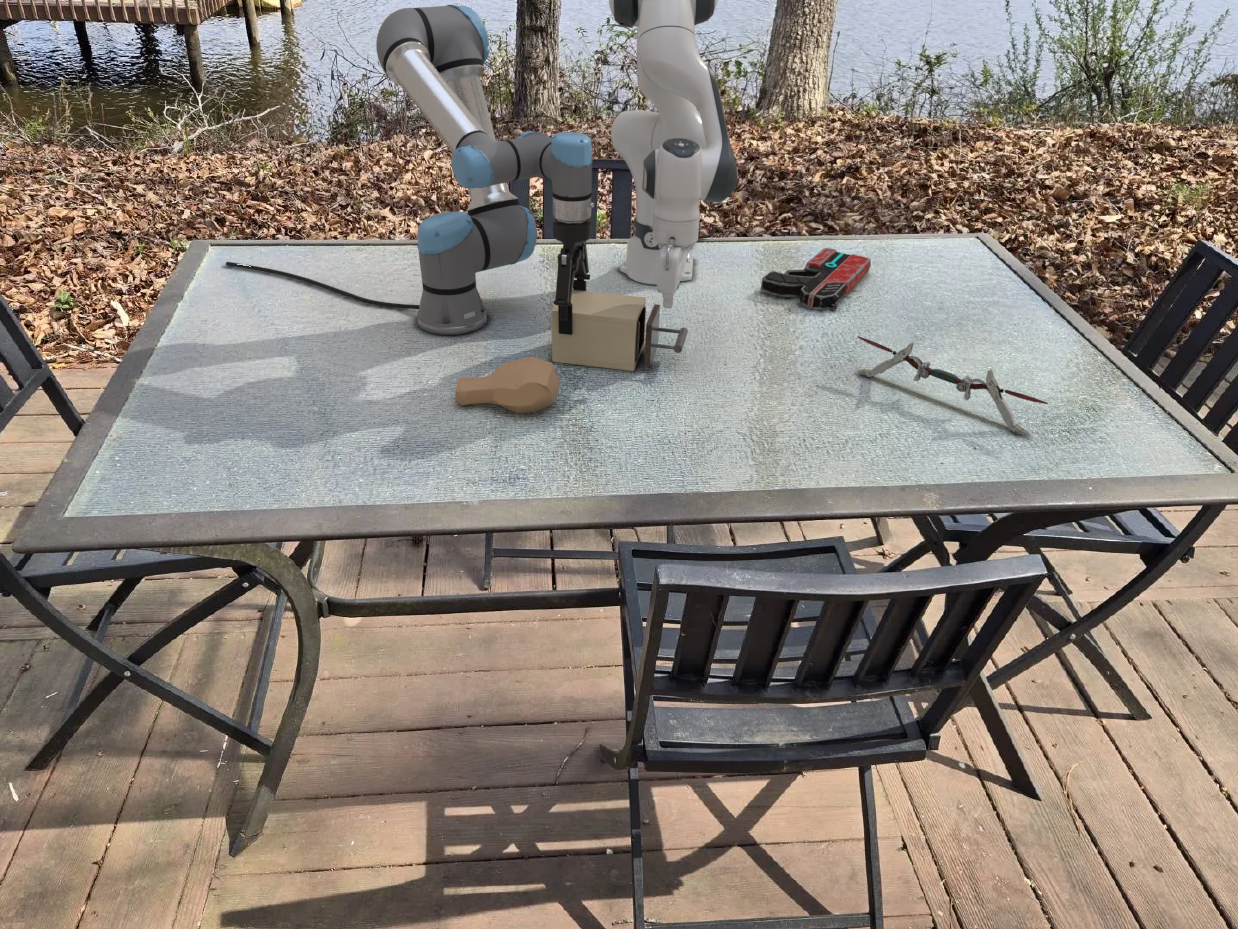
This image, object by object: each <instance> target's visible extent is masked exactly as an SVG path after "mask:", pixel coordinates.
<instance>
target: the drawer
mask: <svg viewBox="0 0 1238 929" xmlns="http://www.w3.org/2000/svg"><path fill="white" fill-rule="evenodd" d="M660 312H661V304H658V303H657V304H656V303H654V305H653V307H652V309H651V312H650V314H649V317H648V319H646V318H647V306H645V307H643V309H642V311H641V313H640V316H639V318H638V320H637V322H636V323H637V324H636V349H635V361H638V362H639V359H640V357H639V356H641V354H642V352H643V350H644V360H643V365H644V366H643V367H646V368H650V367H651V365H652V363H653V359H654V357H655V354H656V351H657V349H665V350H673V351H674V353H677V354H680V353H682V351H683V350H684V345H685V343H686V339H687V337H688V333H689V330H688V328H686V327H681V328H679V329H678V328H677V329H676V328H668V327H667V328H666V327H660V314H661V313H660ZM646 320H647V321H646ZM659 332H661V333H662V332H663V333H671V334H677V337H676V340H675V343H674V345H672V344H671V345H670V344H660V343H659ZM641 351H642V352H641Z"/></svg>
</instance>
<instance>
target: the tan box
mask: <svg viewBox="0 0 1238 929" xmlns="http://www.w3.org/2000/svg"><path fill="white" fill-rule="evenodd" d="M646 300H647V297H646V296H636V295H626V294H616V293H609V292H608V293H606V292H599V291H598V292H597V291H588V290H586V291H579V290H572V297H571V303H572V323H573V334H572V335H567V334H559V319H558V305H555V304H554V305H553V307H552V309H551V310H550V311H551V312H550V313H551V315H550V316H551V317H550V318H551V363H562V364H568V365H569V364H571V365H577V366H578V365H579V366H587V367H595V368H604V369H611V370H612V369H613V370H620V371H629V372H634V371H635V369H636V366H637V364H638V362H639V360H638V361H635V349H636V324H637V323H636V322H637V320H638V318H639V316H640V313H641V311H642V309H643V307H646ZM642 352H643V350H642V351H641V353H642ZM640 356H641V355H640ZM640 356H639V358H640Z"/></svg>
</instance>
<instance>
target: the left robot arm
mask: <svg viewBox="0 0 1238 929" xmlns="http://www.w3.org/2000/svg"><path fill="white" fill-rule="evenodd" d="M488 34H489V33H488V31H487V28H486V25H485V23H484V21H483V20H482V18H481V16H480V15H479V14H478V13H477V12H476V11H475V10H473V8H471V7H470V6H466V5H454V4H447V5H438V6H423V7H420V6H419V7H403V8H400V9H397V10H394V11H393V12H392V13H390V14H389V15H388V16H386V18H385V19H384V20H383V22H382V23H381V25H380V27H379V29H378V32H377V36H376V42H375V43H376V45H375V46H376V48H375V50H376V55H377V60H378V62H379V64H380V66H381V69H382V70H383V72H384V73H385V75H386V76H387V78H389V80H390V81H391V83H393V84H394V85H397V86H399V87H402V89H403V90H404V92H405V93H406V95H408V97H409V98H410V99H411V101H412V102H413V103H414V105H415V106H416V107H417V109H418V110H419V111H420V112H421V114H422V115H423V117H424V119H426V121H427V122H428V123H429V125H430V126H431V127H432V129H433V130H434V131H435V133H436V134H437V135H438V136H439V138H440V139H441V140H442V142H443V143H444V144H445V146H446V147H447V148H448V150H449V151H450V152H451V153H452V155H451V159H450V161H451V162H450V163H451V164H450V165H451V171H452V174H454V177H455V178H454V179H455V181H456V182H457V184H458V185H459V186H460V187H462V188H464V189H467V190H468V194H469V197H470V202H469V203H470V204H469V205H468V207H467V208H466V212H467V213H466V212H464V211H457V210H455V211H454V210H453V211H443V212H438V213H436V214H432V215H429V216H427V217H426V218H424V220H422V221H421V222H420V224H419V225H418V227H417V230H416V231H417V232H416V233H417V243H416V246H417V247H416V248H417V250H418V258H419V259H418V260H419V267H420V275H421V276H420V278H421V284H422V292H421V297H420V302H419V304H409V303H408V304H406V303H397V302H396V303H395V302H387V301H379V300H374V299H369V298H367V297H366V298H365V297H362V296H359V295H357V294H355V293H350V292H348V291H345V290H343V289H339V288H337V287H334V286H331V285H329V284H326V283H323V282H320V281H317V280H313V279H311V278H307V277H305V276H301V275H298V274H293V273H290V272H287V271H281V270H277V269H273V268H267V267H262V266H258V265H257V266H256V265H251V264H248V265H249V266H251V267H249V266H243V265H237V264H240V263H239V262H238V263H237V262H232V261H226V262H225V265H226V266H229V267H234V268H239V269H240V268H241V269H245V270H246V269H247V270H251V271H258V272H264V273H269V274H274V275H278V276H281V277H282V276H283V277H287V278H290V279H295V280H297V281H301V282H305V283H308V284H311V285H314V286H316V287H319V288H322V289H325V290H328V291H331V292H333V293H337V294H339V295H341V296H345V297H347V298H351V299H353V300H356V301H357V302H362V303H365V304H369V305H373V306H378V307H379V306H380V307H385V308H396V309H406V310H408V309H409V310H417V315H416V318H417V325H418V326H419V328H420V329H421V330H423V331H424V332H427V333H430V334H433V335H440V336H459V335H465V334H469V333H473V332H476V331H477V330H480V329H481V328H483V327H484V326H485V325H486V323H487V320H488V316H487V310H486V306H485V304H484V302H483V299H482V298H481V295H480V293H479V291H478V288H477V278H476V277H477V276H476V274H477V273H479V272H485V271H488V270H492V269H497V268H501V267H505V266H509V265H510V266H511V265H515V264H517V263H520V262H523V261H526V260H527V259H529V258H530V257H531V256H532V255H533V253H534V251H535V249H536V245H537V240H538V239H537V238H538V230H537V224H536V220H535V217H534V215H533V214H532V213H531V211H530V209H528V208H527V207H524V206H521V205H520V200H519V197H518V196H516V195H514V194H513V193H511V192H510V189H509V186H508V183H510V182H511V183H512V182H517V181H522V180H528V179H533V178H543V179H546V180H548V181H551V190H552V191H551V192H552V195H551V196H552V198H551V199H552V217H553V219H552V235H553V236H552V237H553V238H554V239H555V240H556V241H558V242H561V244H562V247H561V248H560V251H559V252H560V253H558V255H557V275H556V288H555V299H554V300H553V304H554V306H555V305H558V319H559V334H567V335H572V334H573V323H572V303H571V297H572V290H579V291H587V281H590V280H591V274H589V271H590V269H589V259H588V247H587V241H589V240H590V239H591V238H592V219H591V217H592V208H594V207H595V203H594V202H592V192H593V190H592V186H593V160H594V158H593V152H592V151H593V150H592V139H591V138H590V136H588V135H587V134H585V133H582V132H575V131H563V132H559V133H556V134H554V135H553V136H552V137H551V136H549V135H547V134H545V133H542V132H539V131H533V130H527V131H524V132H522V133H521V134H519V135H518V136H516V138H513V139H506V140H498V141H497V139H496V136H495V132H494V127H493V124H492V120H491V116H490V112H489V108H488V104H487V100H486V97H485V92H484V88H483V85H482V81H481V78H482V75H483V73H484V72H485V69H486V68H485V65H484V63H485V62H486V61H487V60H488V57H489V56H490V55H489V54H490V49H489V46H490V40H489V35H488Z"/></svg>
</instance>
